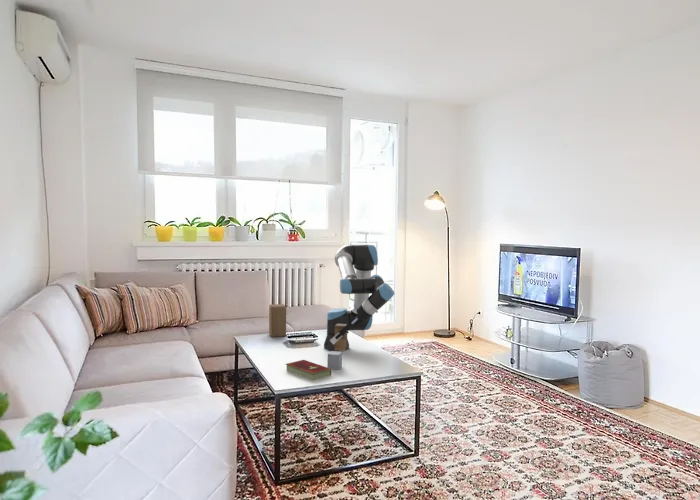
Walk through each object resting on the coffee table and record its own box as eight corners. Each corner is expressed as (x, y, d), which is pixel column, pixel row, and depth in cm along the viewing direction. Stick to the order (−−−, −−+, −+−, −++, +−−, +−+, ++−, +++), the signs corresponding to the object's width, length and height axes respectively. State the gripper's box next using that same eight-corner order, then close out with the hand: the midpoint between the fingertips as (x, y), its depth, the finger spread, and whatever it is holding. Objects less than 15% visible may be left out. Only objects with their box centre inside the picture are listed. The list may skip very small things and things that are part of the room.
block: (268, 334, 320) (269, 304, 319) (283, 333, 323) (283, 303, 322) (270, 337, 310) (271, 306, 309) (286, 336, 313) (286, 306, 312)
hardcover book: (304, 366, 250) (304, 358, 249) (331, 376, 235) (331, 367, 234) (285, 371, 241) (285, 363, 241) (312, 381, 226) (312, 373, 226)
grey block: (330, 366, 250) (330, 351, 250) (341, 367, 249) (342, 351, 248) (327, 369, 244) (327, 354, 244) (338, 370, 243) (338, 355, 242)
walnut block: (337, 347, 237) (337, 323, 236) (347, 348, 235) (347, 324, 235) (334, 350, 232) (334, 325, 231) (344, 351, 231) (344, 326, 230)
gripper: (368, 319, 220) (333, 351, 225) (375, 312, 238) (343, 342, 243) (357, 307, 221) (322, 339, 226) (365, 300, 239) (333, 331, 243)
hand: (333, 340), depth 234 cm, fingers closed on walnut block, 5 cm apart
